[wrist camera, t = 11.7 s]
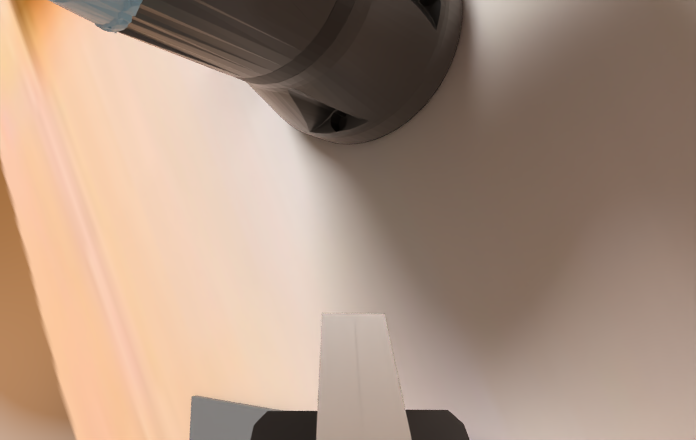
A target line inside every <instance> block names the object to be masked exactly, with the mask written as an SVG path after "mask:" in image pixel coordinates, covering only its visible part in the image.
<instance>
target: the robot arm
mask: <svg viewBox="0 0 696 440" xmlns="http://www.w3.org/2000/svg"><path fill="white" fill-rule="evenodd" d="M49 1H51V2H53V3H55V4H57V5H59V6H61V7H63V8H65V9H67V10H69V11H71V12H73V13H75V14H77V15H79V16H81V17H83V18H85V19H87V20H89V21H91V22H93V23H95V25H96V26H97V27H99V28H101V29H102V30H105V31H108V32H115V33H117V32H119V33H122V34H124V35H127V36H129V37H132V38H135V39H137V40H140V41H142V42H145V43H148V44H150V45H153V46H155V47H158V48H160V49H163V50H166V51H168V52H171V53H173V54H176V55H179V56H181V57H184V58H186V59H189V60H191V61H194V62H197V63H199V64H202V65H204V66H207V67H209V68H212V69H215V70H217V71H220V72H222V73H225V74H228V75H231V76H233V77H236V78H238V79H241V80H243V81H246V82H247V83H248V84H249V85H250V86H251V87H252V88H253V89H254V90H255V91H256V92H257V93H258V94H259V95H260V96H261V97H262V98H263V99H264V100H265V101H266V102H267V103H268V104H269V105H270V106H271V107H272V108H273V110H274V111H275V112H276V113H277V114H278V115H279V116H280V117H281V118H283V119H284V120H285V121H286V122H287V123H288V124H290V125H291V126H293V127H294V128H296V129H298V130H300V131H302V132H304V133H306V134H308V135H311V136H314V137H317V138H320V139H323V140H326V141H329V142H334V143H341V144H355V143H362V142H367V141H371V140H374V139H377V138H379V137H382V136H384V135H386V134H388V133H390V132H392V131H394V130H395V129H397V128H399V127H400V126H402V125H403V124H404V123H406V122H407V121H408V120H409V119H411V118H412V117H413V116H414V115H415V114H416V113H417V112H418V111H419V110H420V109H421V108H422V107H423V106H424V105H425V104H426V103H427V102H428V100H429V99H430V98H431V97H432V95H433V94H434V93H435V91H436V90H437V88H438V87H439V85H440V84H441V82H442V80H443V78H444V77H445V75H446V73H447V71H448V69H449V66H450V64H451V62H452V59H453V57H454V54H455V51H456V48H457V44H458V40H459V36H460V30H461V23H462V0H49ZM250 440H469V437H468V434H467V432H466V429H465V426H464V424H463V423H462V422H461V421H460V420H458V419H457V418H456V417H455V416H454V415H453V414H452V413H451V412H449V411H448V410H405V406H404V402H403V397H402V392H401V388H400V383H399V378H398V374H397V369H396V364H395V360H394V355H393V350H392V346H391V341H390V337H389V332H388V327H387V323H386V318H385V314H366V313H322V326H321V347H320V369H319V390H318V411H267V412H266V413H265V414H264V415H263V416H262V417H261V418H260V419H259V420H258V421H257V422H256V423H255V424H254V426H253V431H252V435H251V439H250Z"/></svg>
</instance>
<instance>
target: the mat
mask: <svg viewBox="0 0 696 440" xmlns="http://www.w3.org/2000/svg"><path fill="white" fill-rule="evenodd" d="M267 411H281V410H276V409H270V408H264V407H258V406H252V405H247V404H241V403H235V402H229V401H223V400H217V399H212V398H206V397H200V396H192V402H191V422H190V440H250V439H251V435H252V431H253V426H254V424H255V423H256V422H257V421H258V420H259V419H260V418H261V417H262V416H263V415H264V414H265V413H266V412H267Z"/></svg>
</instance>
